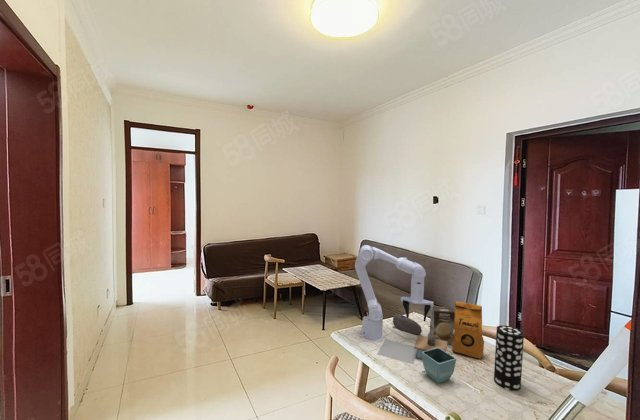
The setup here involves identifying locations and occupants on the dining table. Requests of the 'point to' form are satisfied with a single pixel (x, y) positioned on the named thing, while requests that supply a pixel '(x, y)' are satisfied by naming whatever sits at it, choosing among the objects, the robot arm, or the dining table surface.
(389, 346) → the mat
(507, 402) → the dining table surface
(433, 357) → the flower pot
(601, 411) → the dining table surface
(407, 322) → the perforated stone tool
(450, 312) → the coffee box
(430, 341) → the lid
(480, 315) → the coffee package
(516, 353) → the white-spotted black cylinder
